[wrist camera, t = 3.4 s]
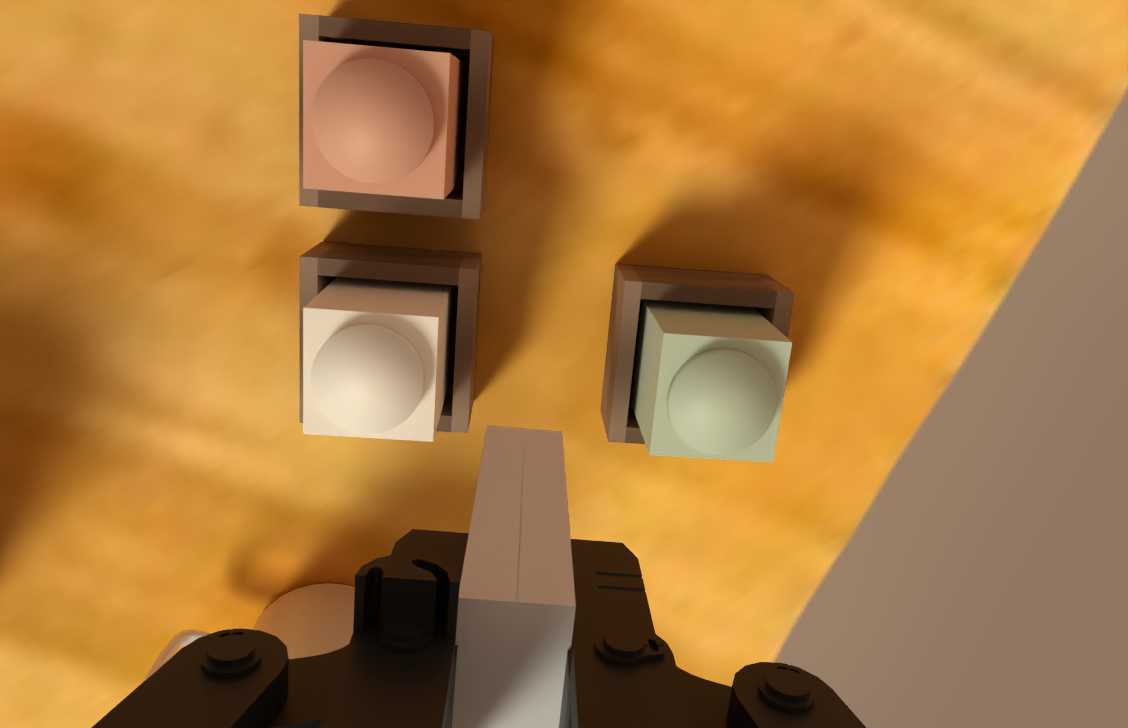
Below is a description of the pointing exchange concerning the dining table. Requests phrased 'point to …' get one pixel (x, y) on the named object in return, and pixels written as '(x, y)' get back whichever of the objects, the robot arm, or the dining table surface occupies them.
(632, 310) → the brown square tray
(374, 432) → the cap cream
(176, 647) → the mug
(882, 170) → the dining table surface
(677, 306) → the cap sage
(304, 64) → the cap terracotta
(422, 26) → the collar brown
